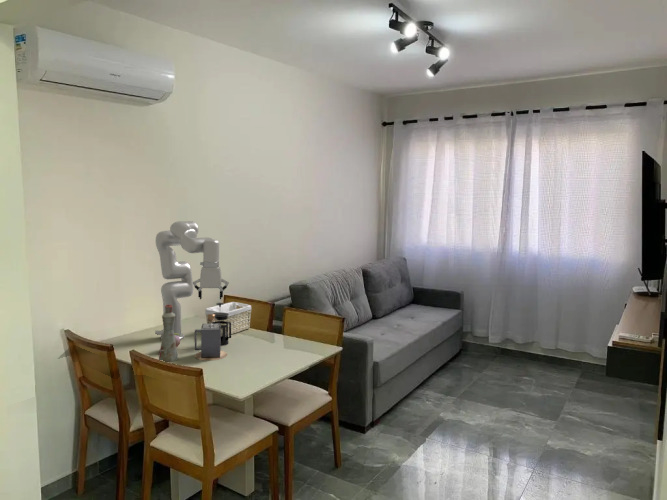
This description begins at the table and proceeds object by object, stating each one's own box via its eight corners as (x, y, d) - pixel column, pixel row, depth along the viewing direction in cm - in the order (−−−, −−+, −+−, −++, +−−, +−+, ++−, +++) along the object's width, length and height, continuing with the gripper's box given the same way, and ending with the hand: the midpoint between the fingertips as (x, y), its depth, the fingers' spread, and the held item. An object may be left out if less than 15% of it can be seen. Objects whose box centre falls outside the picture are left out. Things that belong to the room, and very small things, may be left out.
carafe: (194, 358, 248) (193, 328, 246) (195, 352, 257) (195, 323, 255) (219, 357, 250) (220, 328, 249) (220, 351, 259) (220, 323, 257)
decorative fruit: (175, 347, 267) (175, 328, 266) (182, 350, 262) (182, 332, 260) (158, 350, 261) (158, 331, 260) (165, 354, 255) (165, 335, 254)
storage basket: (223, 338, 286) (223, 312, 284) (203, 332, 295) (203, 308, 293) (252, 329, 306) (252, 305, 304) (232, 324, 315) (233, 301, 313)
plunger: (204, 354, 250) (204, 316, 248) (205, 350, 256) (205, 313, 254) (217, 353, 251) (217, 316, 249) (217, 349, 258) (218, 312, 255)
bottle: (167, 365, 241) (167, 307, 237) (154, 361, 245) (154, 304, 242) (181, 360, 248) (181, 304, 245) (169, 356, 253) (168, 301, 249)
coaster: (193, 362, 245) (193, 360, 245) (196, 351, 261) (196, 350, 260) (226, 361, 248) (226, 359, 248) (227, 351, 263) (227, 349, 263)
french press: (215, 349, 266) (215, 306, 263) (206, 344, 273) (206, 302, 270) (234, 344, 274) (235, 303, 271) (226, 340, 281) (226, 300, 278)
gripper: (192, 265, 243) (191, 300, 246) (228, 266, 246) (228, 300, 249) (193, 263, 251) (193, 296, 253) (229, 263, 254) (228, 297, 256)
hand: (210, 298), depth 251 cm, fingers open, 9 cm apart
